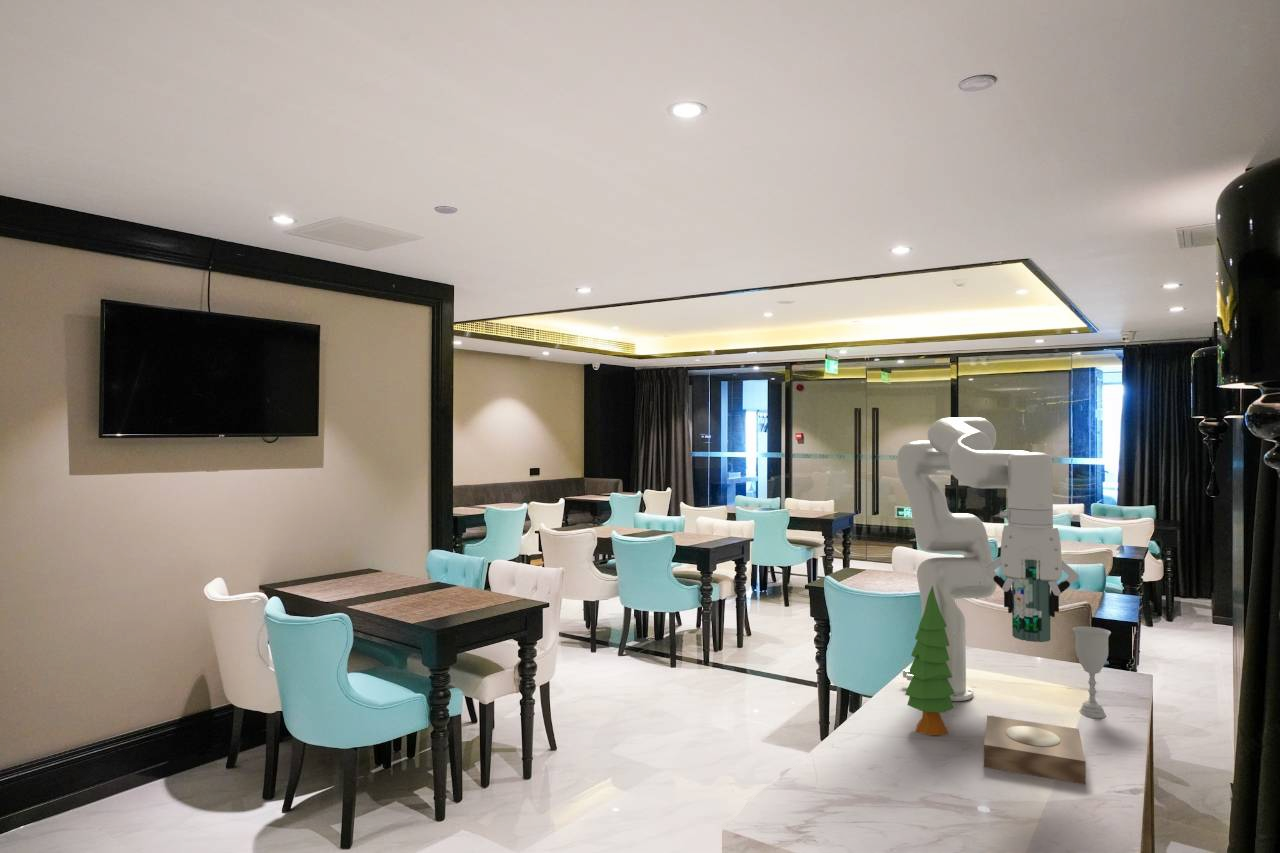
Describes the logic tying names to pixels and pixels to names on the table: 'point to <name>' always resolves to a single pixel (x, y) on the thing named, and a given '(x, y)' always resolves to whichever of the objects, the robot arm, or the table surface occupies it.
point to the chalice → (1091, 662)
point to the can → (1031, 606)
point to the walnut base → (1034, 749)
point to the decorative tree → (931, 671)
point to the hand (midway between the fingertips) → (1031, 612)
